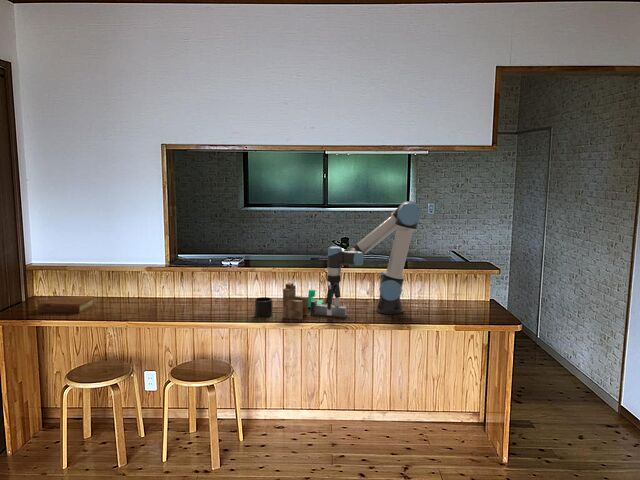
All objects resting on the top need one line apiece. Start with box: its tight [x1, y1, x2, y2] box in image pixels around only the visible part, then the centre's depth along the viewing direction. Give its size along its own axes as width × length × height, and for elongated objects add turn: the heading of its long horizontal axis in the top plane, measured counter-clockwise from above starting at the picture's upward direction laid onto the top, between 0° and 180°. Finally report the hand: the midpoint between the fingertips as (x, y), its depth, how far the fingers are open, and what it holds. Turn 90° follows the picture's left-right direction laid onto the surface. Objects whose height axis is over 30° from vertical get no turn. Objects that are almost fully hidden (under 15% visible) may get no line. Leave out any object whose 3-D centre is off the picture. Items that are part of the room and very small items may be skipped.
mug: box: [254, 296, 273, 318], centre depth 282 cm, size 9×12×9 cm
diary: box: [37, 295, 95, 314], centre depth 292 cm, size 23×19×6 cm
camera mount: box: [307, 289, 324, 308], centre depth 300 cm, size 12×8×10 cm, turn 172°
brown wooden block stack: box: [282, 282, 309, 321], centre depth 279 cm, size 10×11×18 cm
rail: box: [310, 299, 348, 318], centre depth 283 cm, size 20×4×7 cm, turn 72°
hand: (332, 311), depth 283 cm, fingers open, 13 cm apart
